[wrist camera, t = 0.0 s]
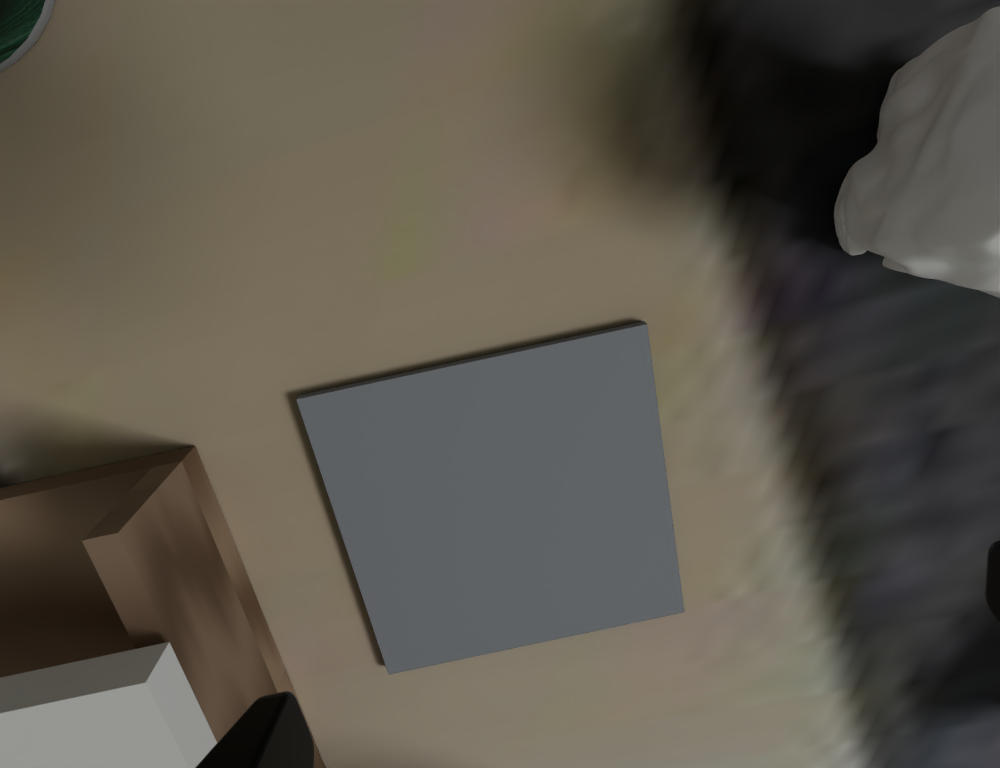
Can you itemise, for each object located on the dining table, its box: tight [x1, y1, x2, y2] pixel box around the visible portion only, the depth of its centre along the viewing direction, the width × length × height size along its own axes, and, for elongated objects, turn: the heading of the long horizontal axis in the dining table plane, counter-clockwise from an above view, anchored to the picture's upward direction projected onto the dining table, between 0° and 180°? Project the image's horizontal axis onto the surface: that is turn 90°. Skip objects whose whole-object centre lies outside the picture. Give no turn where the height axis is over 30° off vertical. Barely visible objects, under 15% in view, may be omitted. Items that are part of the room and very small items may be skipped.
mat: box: [296, 321, 684, 674], centre depth 24 cm, size 12×12×1 cm
